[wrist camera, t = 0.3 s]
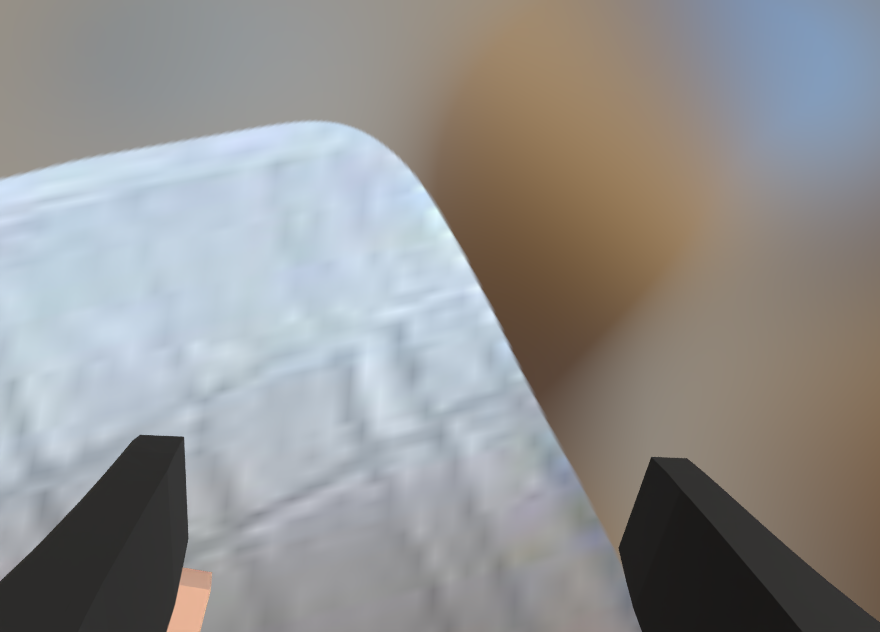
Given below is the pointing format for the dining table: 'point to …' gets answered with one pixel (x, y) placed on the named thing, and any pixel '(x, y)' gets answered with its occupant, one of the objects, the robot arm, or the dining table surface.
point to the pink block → (191, 601)
